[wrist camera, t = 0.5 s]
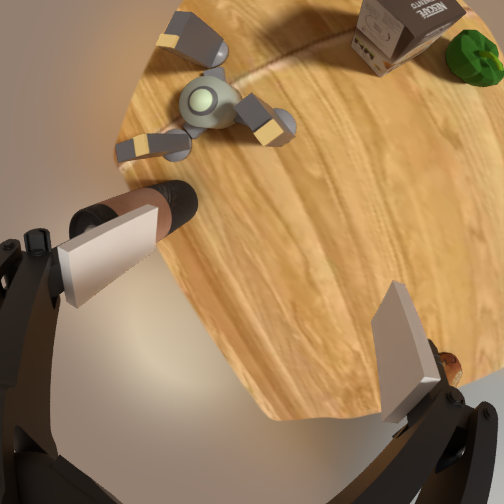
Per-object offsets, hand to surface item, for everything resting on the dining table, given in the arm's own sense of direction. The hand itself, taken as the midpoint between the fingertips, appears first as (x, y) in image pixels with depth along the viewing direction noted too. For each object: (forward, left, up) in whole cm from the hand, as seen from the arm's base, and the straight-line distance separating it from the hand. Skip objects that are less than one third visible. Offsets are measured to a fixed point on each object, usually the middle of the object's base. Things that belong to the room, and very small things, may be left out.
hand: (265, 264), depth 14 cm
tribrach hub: (-9, -14, -26) cm, 31 cm away
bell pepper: (-27, +19, -26) cm, 42 cm away
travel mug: (+7, -19, -26) cm, 33 cm away
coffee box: (-24, +7, -26) cm, 36 cm away
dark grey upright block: (-18, -18, -25) cm, 36 cm away
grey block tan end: (-8, -6, -25) cm, 27 cm away
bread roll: (+25, +38, -26) cm, 52 cm away
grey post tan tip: (-2, -20, -25) cm, 32 cm away
